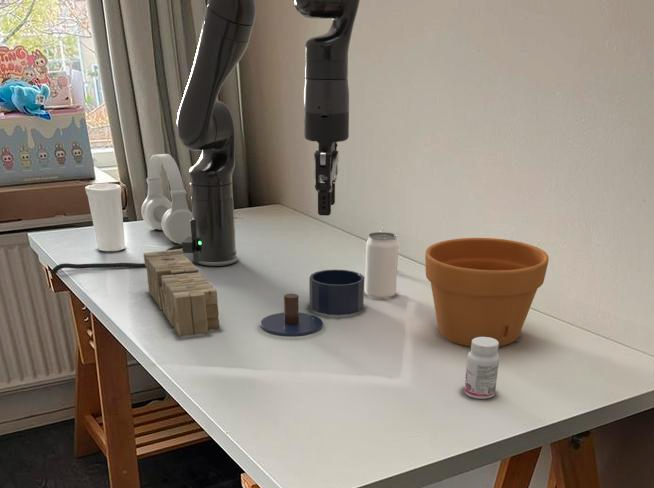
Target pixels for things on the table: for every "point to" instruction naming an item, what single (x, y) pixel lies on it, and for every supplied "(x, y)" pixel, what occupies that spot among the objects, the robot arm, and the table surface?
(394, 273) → the can
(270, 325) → the lid
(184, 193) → the headphones
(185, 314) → the block tower
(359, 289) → the pot
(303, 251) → the table surface
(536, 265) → the flower pot
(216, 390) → the table surface
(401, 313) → the table surface
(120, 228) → the cup
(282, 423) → the table surface
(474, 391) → the pill bottle
